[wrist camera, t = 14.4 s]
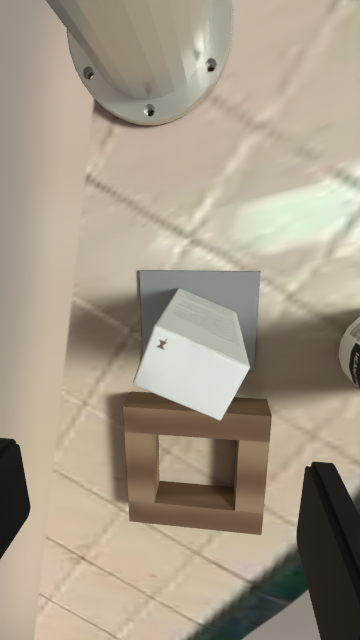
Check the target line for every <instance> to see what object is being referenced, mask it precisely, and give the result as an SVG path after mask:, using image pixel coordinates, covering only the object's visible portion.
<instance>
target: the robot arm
mask: <svg viewBox="0 0 360 640" xmlns="http://www.w3.org/2000/svg"><path fill="white" fill-rule="evenodd" d="M46 1H47V2H48V3H49V5H50V6H51V8H52V9H53V10H54V12H55V13H56V14H57V16H58V17H59V18H60V20H61V21H62V23H63V24H64V25H65V27H66V28H67V36H68V43H69V49H70V53H71V56H72V59H73V62H74V66H75V69H76V71H77V72H78V75H79V76H80V78H81V80H82V82H83V84H84V85H85V87H86V88H87V89H88V91H89V92H90V93H91V95H92V96H93V97H94V98H95V99H96V101H97V102H98V103H99V104H100V105H101V106H102V107H104V108H105V109H106V110H107V111H109V112H110V113H111V114H113V115H114V116H116V117H118V118H120V119H122V120H125V121H127V122H130V123H134V124H139V125H159V124H164V123H169V122H172V121H174V120H176V119H178V118H181V117H183V116H184V115H186V114H187V113H189V112H190V111H192V110H193V109H194V108H196V107H197V106H198V105H199V104H200V103H201V102H202V101H203V100H204V99H205V98H206V97H207V96H208V94H209V93H210V91H211V90H212V88H213V87H214V85H215V84H216V82H217V81H218V79H219V77H220V75H221V72H222V70H223V68H224V66H225V63H226V60H227V56H228V53H229V49H230V45H231V36H232V27H233V5H232V0H46ZM209 68H213V69H214V71H212V72H208V69H209ZM92 75H94V76H93V78H92V79H90V77H91V76H92ZM151 111H154V114H153V116H149V113H150V112H151ZM29 512H30V501H29V496H28V490H27V485H26V479H25V473H24V468H23V463H22V457H21V451H20V447H19V445H18V444H16V441H15V440H14V439H6V438H0V559H1V557H2V556H3V554H4V553H5V551H6V550H7V548H8V547H9V545H10V543H11V542H12V541H13V539H14V538H15V536H16V534H17V533H18V531H19V530H20V528H21V527H22V525H23V524H24V522H25V521H26V519H27V517H28V515H29ZM297 545H298V550H299V554H300V558H301V562H302V566H303V570H304V574H305V578H306V582H307V586H308V590H309V593H310V598H311V601H312V606H313V610H314V613H315V617H316V621H317V625H318V629H319V633H320V637H321V640H360V515H359V514H358V512H357V510H356V508H355V506H354V504H353V502H352V499H351V497H350V495H349V493H348V491H347V489H346V487H345V485H344V483H343V481H342V479H341V477H340V475H339V473H338V471H337V469H336V467H335V465H334V464H333V463H324V462H312V464H311V467H309V466H306V468H305V473H304V481H303V489H302V496H301V504H300V511H299V519H298V526H297Z"/></svg>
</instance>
